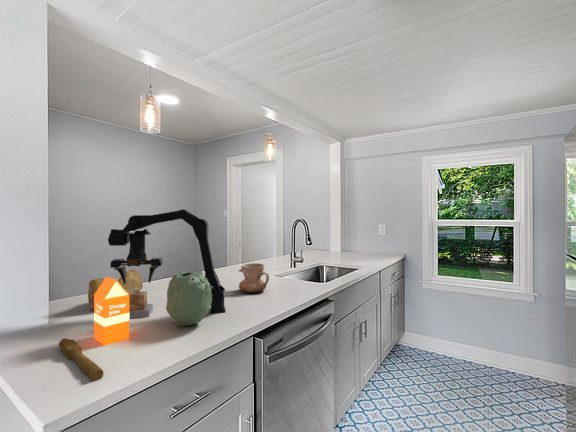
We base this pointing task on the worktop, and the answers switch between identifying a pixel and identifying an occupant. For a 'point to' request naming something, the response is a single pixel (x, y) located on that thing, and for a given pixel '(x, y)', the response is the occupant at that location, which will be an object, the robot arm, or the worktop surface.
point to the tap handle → (80, 358)
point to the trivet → (141, 312)
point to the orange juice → (111, 313)
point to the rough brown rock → (131, 283)
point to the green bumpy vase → (188, 298)
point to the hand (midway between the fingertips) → (137, 283)
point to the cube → (137, 300)
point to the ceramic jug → (253, 278)
